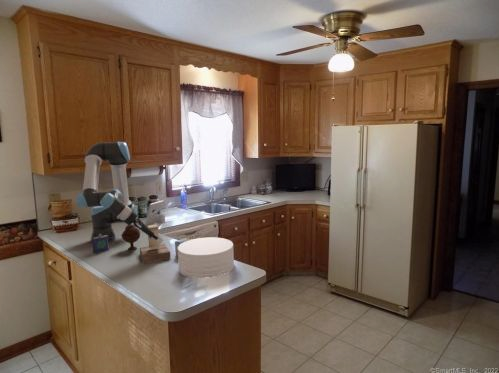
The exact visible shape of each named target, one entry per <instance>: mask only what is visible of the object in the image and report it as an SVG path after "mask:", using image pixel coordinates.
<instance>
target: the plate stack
mask: <svg viewBox="0 0 499 373" xmlns="http://www.w3.org/2000/svg"><path fill="white" fill-rule="evenodd" d="M234 256H235V255H234V243H233V241H232V240H229V239H227V238H222V237H216V236H214V237H213V236H211V237H210V236H209V237H207V236H205V237H198V238H193V239H190V240H188V241H186V242H183V243H181V244H180V245H179V246H178V257H177V259H178V271H179V273H180V274H181V275H183V276H185V277H189V278H195V279H206V278H205V277H209V278H214V277H213V276H216V277H219V276H218V275H220V276H222V275H221V274H223V275H225V274H224V273H226V274H227V272H228V271H229V272H231V271H232V270H233V269H234V267H235V258H234ZM231 269H232V270H231ZM230 270H231V271H230ZM229 272H228V273H229Z"/></svg>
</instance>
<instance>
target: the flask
mask: <svg viewBox="0 0 499 373" xmlns="http://www.w3.org/2000/svg"><path fill="white" fill-rule="evenodd" d="M101 235H102V234H99V236H98V237H94V238H92V242H91V243H92V251H93V254H99V253H100V254H101V253H103V252H107V251H109V250H110V246H109V242H108V236H107V235H104V236H101Z"/></svg>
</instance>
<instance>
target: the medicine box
mask: <svg viewBox="0 0 499 373" xmlns="http://www.w3.org/2000/svg"><path fill="white" fill-rule="evenodd" d="M188 240H191V239H190V238H187V237H184V238H181V239H179V240H175V241H174V249H175V252H174V253H175V257H177V258H178V246H179V245H180V244H181V243H183V242H186V241H188Z"/></svg>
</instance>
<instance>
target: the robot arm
mask: <svg viewBox="0 0 499 373" xmlns="http://www.w3.org/2000/svg"><path fill="white" fill-rule="evenodd" d="M130 160H131V155H130V151H129V148H128V144H127V143H126V141H109V142H107V141H106V142H101V141H100V142H97V143H95V144H94V145H92V146H91V147H90V148H89V149H88V150H87V151H86V153H85V156H84V163H85V167H84V168H85V169H84V178H83V186H82V192H81V193H78V194H77V195H76V196H77V197H76V202H77V206H78V207H80V208H91V209H90V211H91V212H90V213H91V214H90V216H91V224H92V232H91V235H90V242H91V243H92V238H94V237H98V236H99V234H102V235H101V236H104V235H107V236H108V243H109V242H112V241H114V240H116V238H117V237H116V233H115V231H114V229H113V224H122V223H123V224H126V226H127V225H130V224H133V225H134V226H135V228H137V229H138V230H139V231H142V232H143V233H144V234H146V235H147V237H148V236H149V237H150V238H151V237H152V238H153V239H154V240H156V241H157V242H158V243H159V244H162V242H163V241H164V239H163V238H162V236H161V235H159V236H158V235H156V234H155V233H153V232H152V231H150V230H149V229H148V227H147V226H146V225H145V222H143V221H142V220H141V219H140V218H137V217H138V215H139V214H138V213H137V212H136V211H135V204H133V203H132V200H130V198H129V188H128V187H129V185H128V178H127V177H128V176H127V168H126V166H127V165H128V164H129V161H130ZM103 162H107V163H108V166H110V169H111V175H112V185H113V186H112V187H113V189H111V190H110V191H101V192H99V180H100V179H99V178H100V170H101V169H100V168H101V165H102V163H103Z"/></svg>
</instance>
